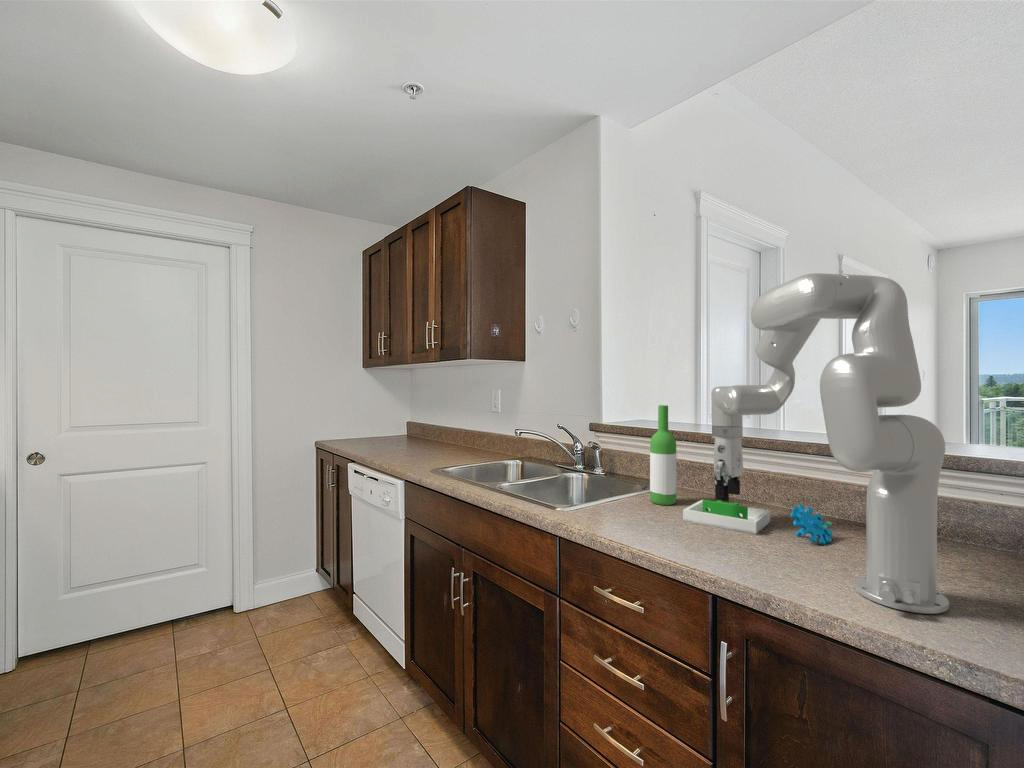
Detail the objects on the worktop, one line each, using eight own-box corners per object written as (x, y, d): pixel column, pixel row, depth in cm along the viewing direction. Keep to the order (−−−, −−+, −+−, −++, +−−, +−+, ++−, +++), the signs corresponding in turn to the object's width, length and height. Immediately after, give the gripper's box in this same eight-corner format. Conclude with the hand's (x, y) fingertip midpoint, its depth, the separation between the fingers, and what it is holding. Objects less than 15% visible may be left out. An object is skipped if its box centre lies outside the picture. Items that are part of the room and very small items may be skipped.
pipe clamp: (750, 522, 126) (751, 504, 126) (746, 525, 123) (746, 507, 123) (707, 514, 134) (707, 497, 134) (702, 516, 131) (702, 500, 131)
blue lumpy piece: (808, 540, 108) (786, 501, 115) (791, 553, 112) (770, 514, 119) (846, 543, 111) (822, 505, 118) (828, 555, 115) (806, 517, 122)
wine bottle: (655, 498, 154) (655, 404, 154) (679, 501, 149) (679, 405, 149) (646, 503, 148) (646, 405, 147) (671, 507, 143) (671, 406, 143)
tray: (756, 534, 118) (756, 522, 118) (683, 520, 129) (683, 509, 129) (770, 521, 128) (770, 510, 128) (701, 510, 140) (701, 499, 140)
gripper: (732, 435, 119) (733, 505, 119) (751, 431, 133) (752, 493, 132) (701, 434, 124) (702, 500, 124) (722, 430, 137) (723, 490, 137)
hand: (727, 497), depth 128 cm, fingers open, 9 cm apart
